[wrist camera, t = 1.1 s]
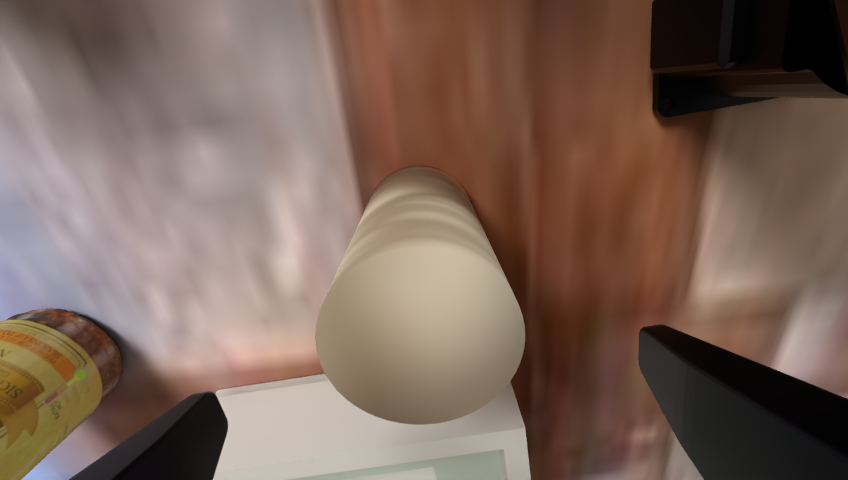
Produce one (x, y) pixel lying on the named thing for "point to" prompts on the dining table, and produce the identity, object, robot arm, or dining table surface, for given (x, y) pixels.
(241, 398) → the socket box
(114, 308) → the dining table surface
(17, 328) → the sauce bottle
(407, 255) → the wooden peg
